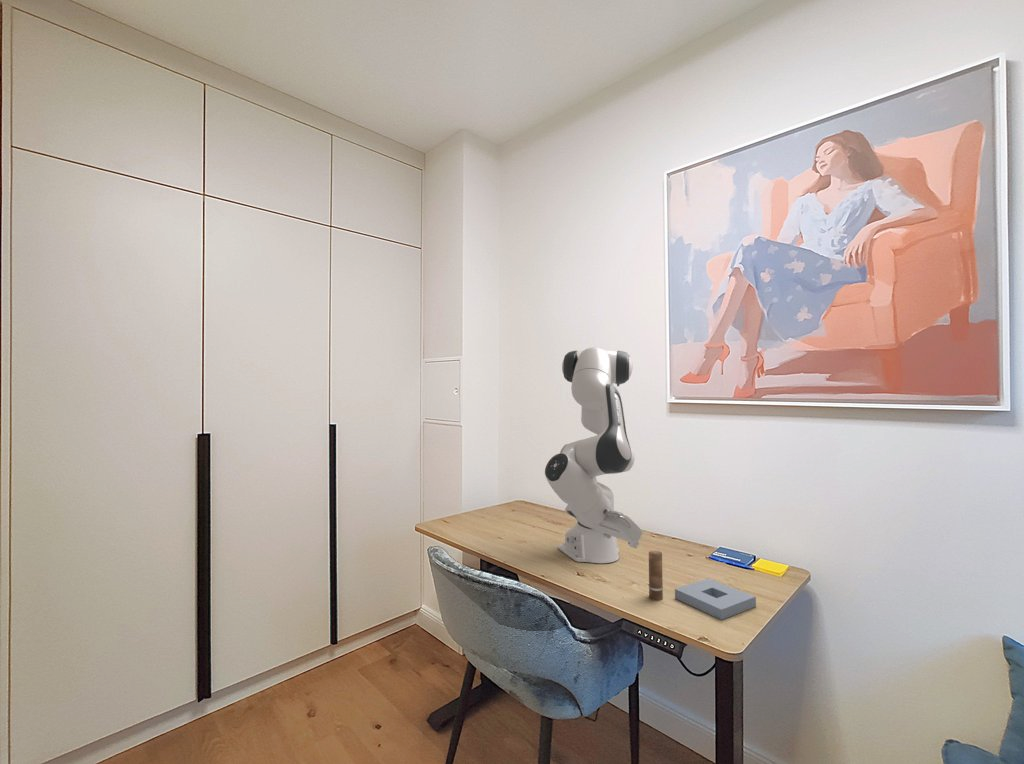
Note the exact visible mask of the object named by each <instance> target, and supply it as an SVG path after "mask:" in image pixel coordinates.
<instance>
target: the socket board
mask: <svg viewBox="0 0 1024 764" xmlns="http://www.w3.org/2000/svg"><path fill="white" fill-rule="evenodd" d="M674 599H675V600H677V601H680V602H682V603H684V604H686V605H688V606H690V607H693V608H694V609H697V610H699V611H701V612H704V613H705V614H707V615H710V616H712V617H714V618H717V620H718V619H719V620H721V621H723V620H725V619H728V618H730V617H733V616H736V615H737V614H740V613H743V612H746V611H749V610H751V609H753V608H755V607H757V597H756V596H754V595H752V594H749V593H747V592H745V591H742V590H740V589H737V588H735V587H732V586H730V585H727V584H724V583H723V582H722V583H721V582H720V581H716V580H714V579H712V578H705V579H702V580H699V581H696V582H693V583H689V584H687V585H683V586H679V587H677V588H674Z"/></svg>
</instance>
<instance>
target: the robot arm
mask: <svg viewBox="0 0 1024 764" xmlns="http://www.w3.org/2000/svg"><path fill="white" fill-rule="evenodd" d="M561 372H562V375H563V377H564V380H566V381H567V382H570V383H571V395H572V397H573V400H574V401H575V402H576V403H577V404H579V405H580V406H581V410H580V411H581V415H580V419H581V420H580V421H581V425H582V427H584V429H586V430H587V431H589V432H591V433H593V434H595V435H594V436H591V437H586V438H584V439H579V440H576V441H573V442H569V443H567V444H564V445H563V446H562V448H561V449H560V451H559V453H557V454H555V455H553V456H552V457H551V458H550V459H549V460H548V462H546V465H545V468H544V476H545V478H546V481H547V482H548V484H549V486H550V488H551V489H552V490H553V492H554V493H555V494H556V495H557V497H558V498H559V499H560V500H561V501H562V502H564V503H565V504H567V506H566V507H565V509H564V511H565V512H566V513H567V514H568V515H569V516H571V517H573V518H574V519H575V520H576V521H577V523H576V524H575V525H574V526H572V527H571V528H569V529H568V530H567V531H566V533H565V536H564V537H565V539H564V542H562V543H560V544H559V545H558V548H557V549H558V550H560V551H561V552H563V553H564V554H565V555H566V556H568V557H569V558H570V559H572V560H573V561H575V562H577V563H584V562H585V563H590V564H591V563H592V564H609V563H613V562H616V561H618V560H619V559H620V555H619V554H620V549H619V547H618V539H620V540H622V541H625V542H627V544H628V545H629V546H630V547H631V548H634V549H637V548H638V547H639V544H640V543H639V541H641V538H642V536H643V532H644V531H643V530H642V528H641V527H640V526H639V525H638V524H637V523H636V522H635V521H634V520H633V519H632V518H631V517H630V516H628V515H627V514H625V513H623V512H620V511H618V510H617V511H616V510H614V508H615V507H614V502H615V501H614V492H613V491H612V489H611V488H610V487H608V486H607V485H605V484H603V483H601V482H599V481H598V480H597V477H598V476H602V475H607V474H608V475H609V474H611V475H613V474H620V473H624V472H629V471H630V470H631V469H632V468H633V466H634V463H635V453H634V450H633V448H632V447H631V445H630V441H629V439H628V434H627V428H626V421H625V414H624V413H625V412H624V407H623V401H622V398H621V394H620V392H619V390H618V389H617V387H620V385H622V384H623V385H624V384H626V383H627V382H628V381H629V380H630V378H631V376H632V372H633V361H632V359H631V355H630V354H629V353H628V352H626V351H624V350H612V349H611V350H609V349H602V348H600V347H595V346H594V347H588V348H585V349H584V350H579V351H578V350H571V351H568V352H567V353H566V354H565V355H564V357H563V360H562V363H561ZM614 384H615V385H616V386H615V385H614Z"/></svg>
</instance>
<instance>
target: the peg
mask: <svg viewBox="0 0 1024 764" xmlns="http://www.w3.org/2000/svg"><path fill="white" fill-rule="evenodd" d="M663 581H664V580H663V552H661V551H660V550H649V551H648V596H649V599H651V600H652V601H662V600H664V599H663V598H664V596H663V595H664V593H663V589H664V588H663V586H664V583H663Z"/></svg>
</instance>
